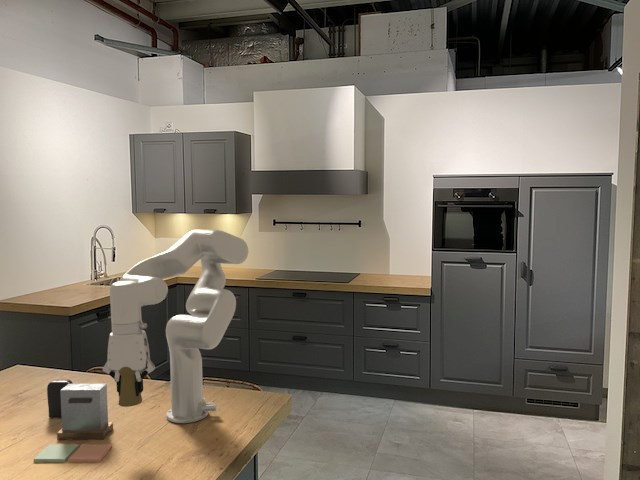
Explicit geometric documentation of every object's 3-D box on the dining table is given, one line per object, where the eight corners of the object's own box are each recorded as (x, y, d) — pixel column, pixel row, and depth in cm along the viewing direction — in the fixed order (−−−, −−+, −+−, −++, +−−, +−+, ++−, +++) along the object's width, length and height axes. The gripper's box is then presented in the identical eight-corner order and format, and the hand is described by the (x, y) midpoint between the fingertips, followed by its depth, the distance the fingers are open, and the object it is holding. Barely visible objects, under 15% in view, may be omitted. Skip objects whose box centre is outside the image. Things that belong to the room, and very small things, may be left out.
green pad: (78, 447, 147) (78, 444, 147) (64, 461, 139) (64, 458, 139) (49, 447, 147) (49, 444, 147) (33, 462, 139) (33, 459, 139)
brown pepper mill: (114, 402, 145) (112, 362, 144) (136, 395, 150) (134, 357, 148) (124, 408, 141) (122, 368, 140) (146, 401, 145) (144, 362, 144)
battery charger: (75, 413, 170) (74, 377, 169) (70, 418, 166) (69, 382, 165) (53, 413, 170) (51, 378, 169) (47, 418, 166) (45, 382, 165)
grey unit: (113, 428, 158) (111, 382, 157) (103, 439, 151) (101, 391, 150) (68, 429, 158) (66, 382, 157) (57, 439, 151) (55, 391, 150)
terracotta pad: (111, 447, 147) (111, 444, 147) (99, 461, 139) (99, 458, 139) (82, 447, 147) (82, 444, 147) (68, 461, 139) (68, 458, 139)
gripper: (162, 323, 147) (165, 388, 149) (101, 324, 147) (104, 389, 149) (154, 331, 140) (157, 399, 141) (89, 332, 139) (93, 400, 141)
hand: (130, 393), depth 145 cm, fingers closed on brown pepper mill, 3 cm apart
